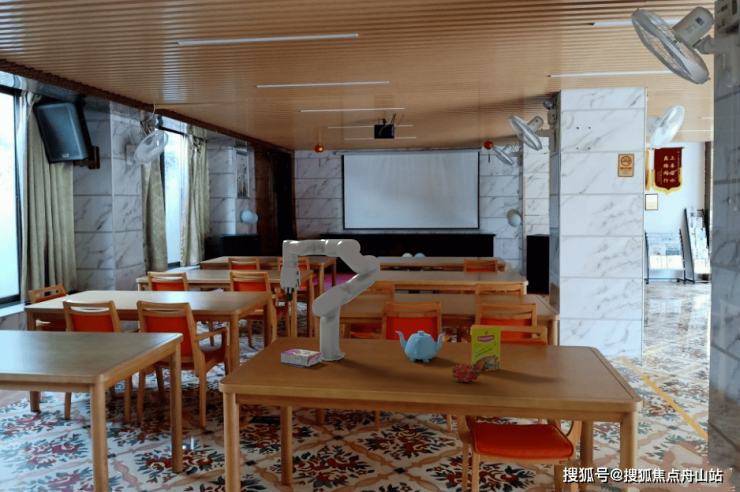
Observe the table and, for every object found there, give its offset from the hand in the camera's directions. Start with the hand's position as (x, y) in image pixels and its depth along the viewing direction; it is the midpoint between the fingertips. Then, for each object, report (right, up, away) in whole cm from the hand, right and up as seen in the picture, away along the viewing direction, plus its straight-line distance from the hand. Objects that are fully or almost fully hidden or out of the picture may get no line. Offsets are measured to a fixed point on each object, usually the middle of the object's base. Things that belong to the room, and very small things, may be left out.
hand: (289, 300), depth 300 cm
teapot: (+66, -28, -8) cm, 72 cm away
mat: (+7, -29, -18) cm, 34 cm away
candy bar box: (0, -25, -12) cm, 28 cm away
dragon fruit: (+82, -31, -46) cm, 99 cm away
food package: (+94, -30, -29) cm, 103 cm away
